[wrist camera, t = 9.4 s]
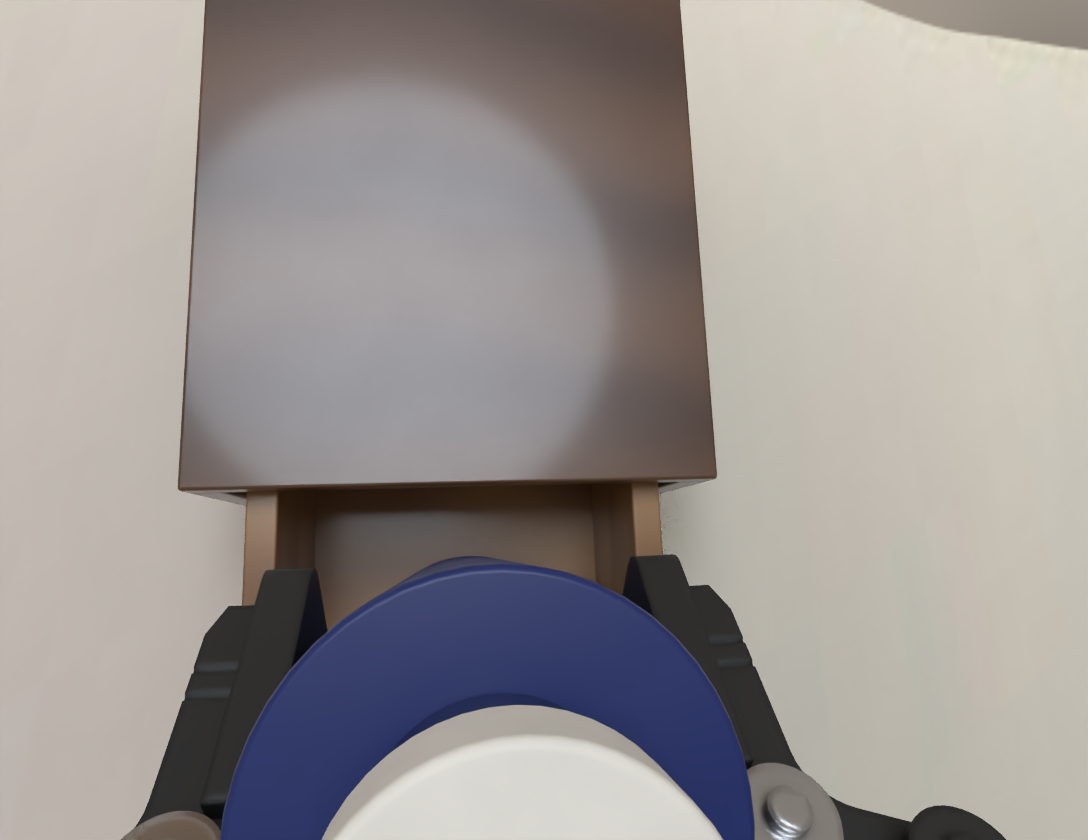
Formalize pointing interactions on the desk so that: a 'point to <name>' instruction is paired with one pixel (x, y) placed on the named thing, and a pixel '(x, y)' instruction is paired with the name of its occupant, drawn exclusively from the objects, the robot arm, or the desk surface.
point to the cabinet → (443, 249)
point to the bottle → (493, 722)
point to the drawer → (445, 533)
